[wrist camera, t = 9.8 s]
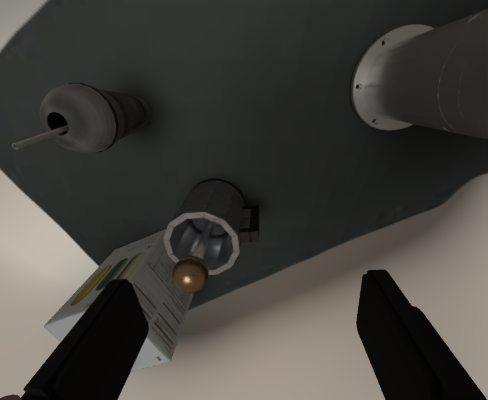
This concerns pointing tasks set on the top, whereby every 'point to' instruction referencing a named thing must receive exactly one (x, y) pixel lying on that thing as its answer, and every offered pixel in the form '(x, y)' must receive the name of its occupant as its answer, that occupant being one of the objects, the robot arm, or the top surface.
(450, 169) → the top surface
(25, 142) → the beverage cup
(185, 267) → the plunger
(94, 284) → the supplement box
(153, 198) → the top surface
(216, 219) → the carafe
